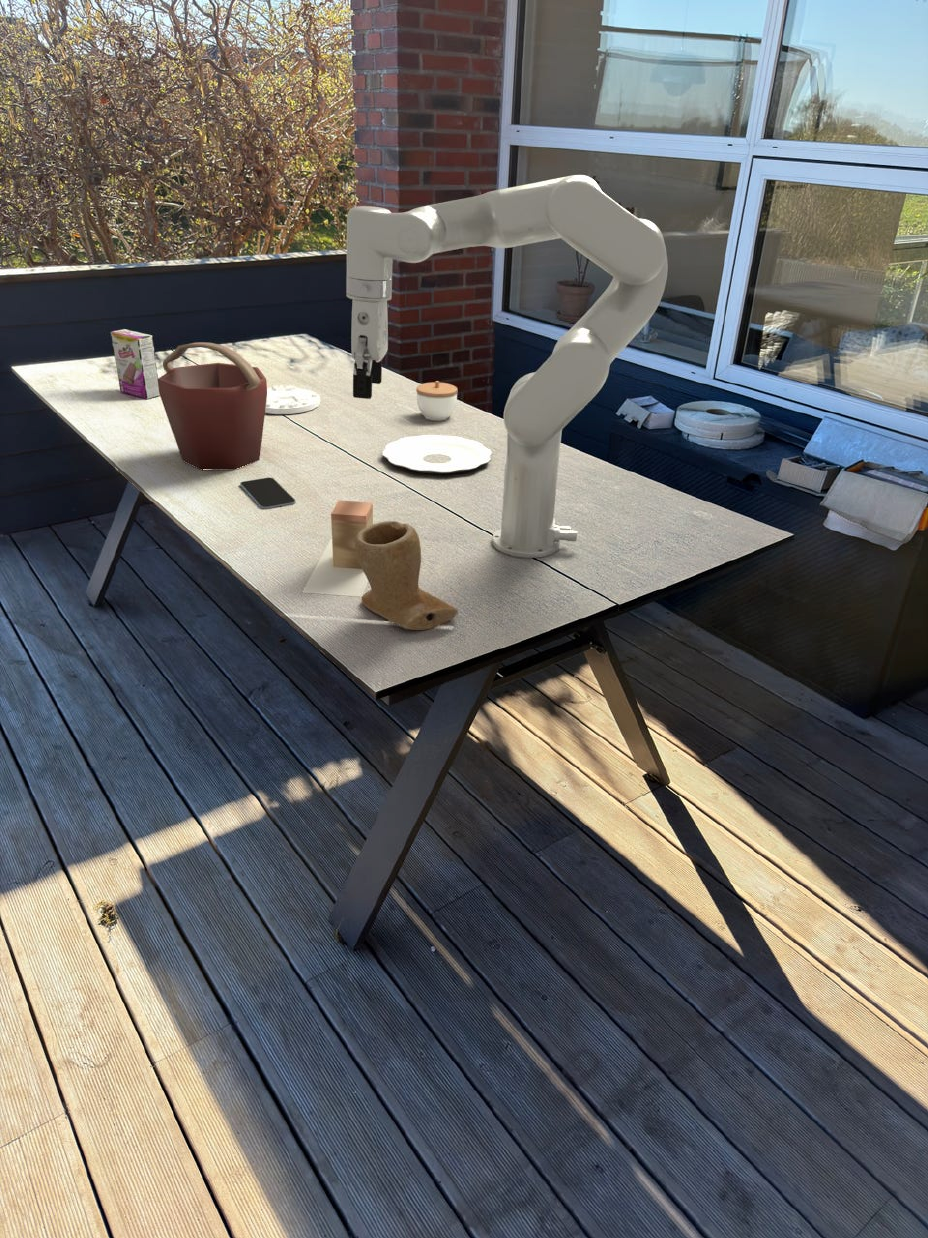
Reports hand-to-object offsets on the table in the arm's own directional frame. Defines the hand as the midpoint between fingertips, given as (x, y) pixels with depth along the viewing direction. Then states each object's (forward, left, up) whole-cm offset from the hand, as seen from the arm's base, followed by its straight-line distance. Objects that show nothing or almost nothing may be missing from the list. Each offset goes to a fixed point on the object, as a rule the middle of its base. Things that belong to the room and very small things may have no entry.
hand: (367, 389), depth 157 cm
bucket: (+40, -34, -27) cm, 59 cm away
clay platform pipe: (-11, +32, -27) cm, 43 cm away
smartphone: (+24, -14, -28) cm, 39 cm away
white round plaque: (+38, -77, -27) cm, 91 cm away
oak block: (0, +15, -26) cm, 30 cm away
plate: (-8, -42, -27) cm, 51 cm away
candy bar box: (+78, -78, -27) cm, 114 cm away
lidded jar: (-4, -74, -27) cm, 79 cm away
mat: (+1, +17, -27) cm, 32 cm away
